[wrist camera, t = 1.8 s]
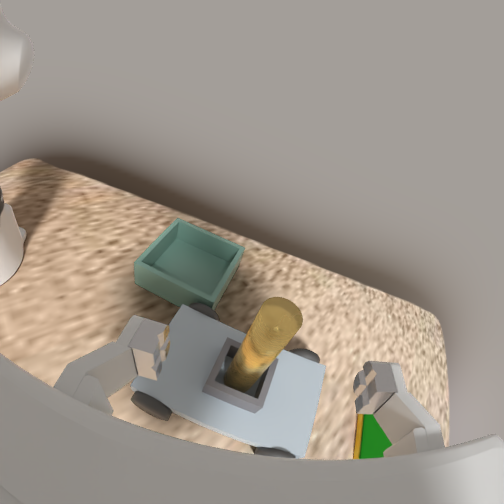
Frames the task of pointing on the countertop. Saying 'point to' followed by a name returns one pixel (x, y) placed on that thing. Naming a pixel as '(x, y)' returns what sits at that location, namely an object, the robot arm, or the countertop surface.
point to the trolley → (225, 398)
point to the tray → (188, 265)
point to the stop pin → (263, 342)
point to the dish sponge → (370, 438)
